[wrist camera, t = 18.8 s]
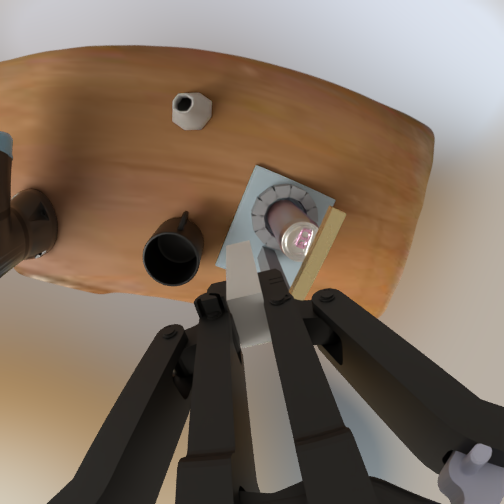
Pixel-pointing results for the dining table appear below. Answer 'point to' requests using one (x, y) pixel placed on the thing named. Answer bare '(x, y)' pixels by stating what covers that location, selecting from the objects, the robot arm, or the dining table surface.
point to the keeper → (317, 252)
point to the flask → (191, 111)
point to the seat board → (256, 224)
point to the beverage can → (291, 229)
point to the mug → (174, 252)
